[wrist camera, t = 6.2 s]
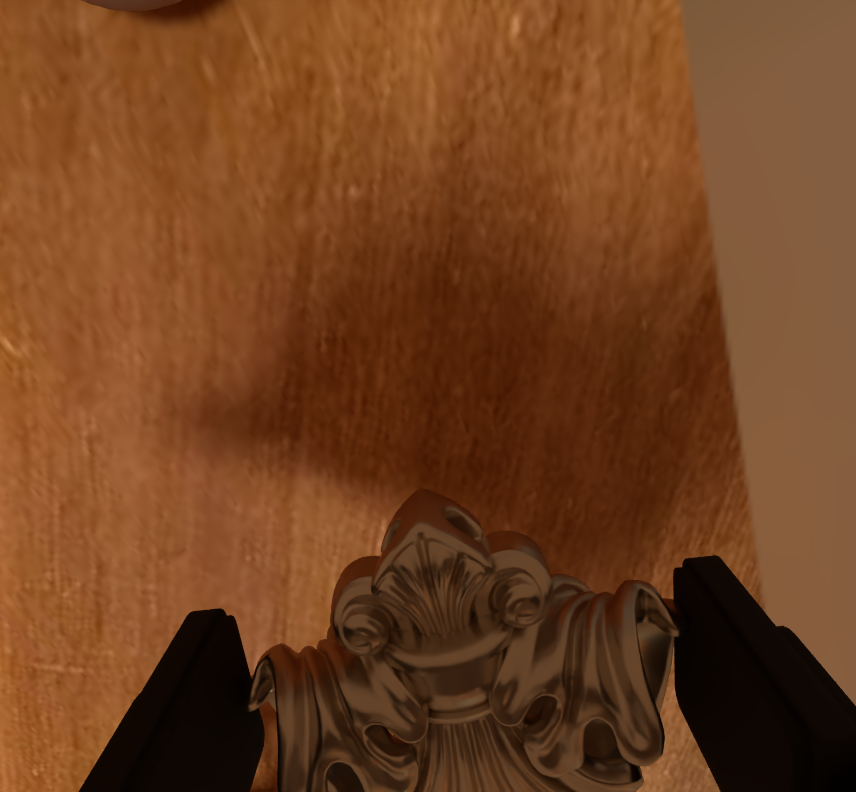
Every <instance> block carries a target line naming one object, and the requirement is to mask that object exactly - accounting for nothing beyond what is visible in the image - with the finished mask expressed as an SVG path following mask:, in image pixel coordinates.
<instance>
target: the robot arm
mask: <svg viewBox="0 0 856 792" xmlns="http://www.w3.org/2000/svg"><path fill="white" fill-rule="evenodd" d="M673 590H674V600H675V601H676V602H677V603H678V604H679V605H680V607H681V608H682V609H683V610H684V612H685V615H686V617H687V619H688V622H689V627H688V631H687V633H686V634H685V635H684V636H682V637H674V664H675V692H676V697H677V701H678V704H679V707H680V709H681V711H682V713H683V715H684V717H685V719H686V721H687V723H688V726H689V728H690V730H691V732H692V734H693V736H694V738H695V740H696V742H697V744H698V746H699V748H700V750H701V752H702V754H703V756H704V758H705V760H706V762H707V764H708V766H709V768H710V771H711V773H712V775H713V777H714V779H715V781H716V783H717V785H718V787H719V789H720V791H721V792H856V706H855V705H854V704H853V702H852V701H851V700H850V699H849V698H848V696H847V695H846V694H845V693H844V692H843V690H842V689H841V688H840V687H839V686H838V684H837V683H836V682H835V681H834V680H833V679H832V677H831V676H830V675H829V674H828V673H827V671H826V670H825V669H824V668H823V667H822V666H821V664H820V663H819V662H818V661H817V660H816V658H815V657H814V656H813V655H812V654H811V652H810V651H809V650H808V649H807V648H806V646H804V644H803V643H802V642H801V641H800V639H799V638H798V637H797V636H796V635H795V634H794V633H793V632H792V631H791V630H790V629H789V628H787V627H784V626H775V624H774V623H773V622H772V621H771V619H770V618H769V617H768V616H767V615H766V613H765V612H764V611H763V610H762V608H761V607H760V606H759V605H758V603H757V602H756V601H755V600H754V599H753V597H752V596H751V595H750V594H749V592H748V591H747V590H746V589H745V587H744V586H743V585H742V584H741V583H740V581H739V580H738V579H737V578H736V576H735V575H734V574H733V573H732V572H731V570H730V569H729V568H728V567H727V565H726V564H725V563H724V562H723V560H722V559H721V558H720V557H719V556H716V555H714V556H705V557H695V558H686V559H685V560H684V561H683V564H682V567H679V568H675V569H674V573H673ZM249 677H250V672H249V668H248V664H247V661H246V657H245V653H244V649H243V645H242V642H241V638H240V634H239V630H238V626H237V623H236V620H235V618H234V616H232V615H228V616H227V615H226V613H225V611H224V610H223V609H221V608H219V609H210V610H200V611H193V612H190V613H189V614H188V615H187V617H186V619H185V620H184V622H183V624H182V625H181V627H180V628H179V630H178V632H177V633H176V635H175V637H174V638H173V640H172V642H171V643H170V645H169V647H168V648H167V650H166V652H165V653H164V655H163V657H162V658H161V660H160V662H159V663H158V665H157V667H156V668H155V670H154V672H153V673H152V675H151V677H150V678H149V680H148V682H147V683H146V685H145V687H144V688H143V690H142V692H141V693H140V694H139V695H138V696H137V697H136V699H135V700H134V701H133V703H132V705H131V706H130V708H129V710H128V711H127V713H126V714H125V716H124V718H123V719H122V721H121V723H120V724H119V726H118V728H117V729H116V731H115V733H114V734H113V736H112V738H111V739H110V741H109V743H108V744H107V746H106V747H105V749H104V751H103V752H102V754H101V756H100V757H99V759H98V761H97V762H96V764H95V766H94V767H93V769H92V771H91V772H90V774H89V776H88V777H87V779H86V780H85V782H84V784H83V785H82V787H81V789H80V790H79V792H250V789H251V786H252V783H253V779H254V776H255V773H256V770H257V767H258V763H259V760H260V757H261V754H262V751H263V747H264V738H265V733H264V725H263V721H262V718H261V714H260V710H259V708H257V709H256V710H254V711H252V712H245V711H243V710H242V708H241V707H240V706H239V697H240V693H241V690H242V688H243V686H244V684H245V683H246V681H247V680H248V679H249Z"/></svg>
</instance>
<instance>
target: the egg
mask: <svg viewBox="0 0 856 792" xmlns="http://www.w3.org/2000/svg"><path fill="white" fill-rule="evenodd" d="M82 1H85V2H87V3H90V4H93V5H96V6H100V7H104V8H107V9H114V10H126V11H139V12H145V11H149V10H153V9H157V8H162V7H166V6H169V5H173V4H176V3H178V2H180V1H182V0H82Z"/></svg>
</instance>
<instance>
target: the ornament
mask: <svg viewBox="0 0 856 792" xmlns="http://www.w3.org/2000/svg"><path fill="white" fill-rule="evenodd" d="M482 537H483V529H482V527H481V525H480V523H479V521H478V520H477V519H476V518H475V517H474V516H473V515H472V514H471V513H470V512H469V511H468V510H467V509H465V508H464V507H463V506H461V505H460V504H458V503H457V502H455V501H454V500H452V499H450V498H448V497H446V496H444V495H441V494H439V493H436V492H434V491H431V490H427V489H424V488H419V489H418V490H416V491H415V492H414V493H413V494H412V495H410V497H409V498H408V499H407V500H406V501H405V502H404V503H403V504H402V505H401V507H400V508H399V509H398V510H397V512H396V513H395V515H394V517H393V518H392V520H391V522H390V524H389V526H388V528H387V531H386V533H385V536H384V539H383V542H382V546H381V552H382V554H381V556H366V557H362V558H359V559H357V560H355V561H353V562H352V563H350V564H349V565H348V566H347V567H346V568H345V569H344V570H343V572H342V573H341V575H340V578H339V579H338V581H337V584H336V586H335V589H334V593H333V598H332V606H331V615H330V624H331V625H330V627H329V629H328V632H327V639H323V640H320V641H319V642H318V645H317V650H316V649H315V648H314V647H312V646H306V647H304V648H303V649H302V651H301V652H300V653H297V652H295V651H294V650H292V648H290V647H289V646H287V645H285V644H283V643H281V644H278V645H276V646H273V647H271V648H270V649H269V650H267V651H266V652H265V653H264V654H263V655H262V656H261V658H260V660H259V661H258V664H257V666H256V669H255V673H254V675H252V676H250V677H249V679H248V680H247V681H246V683H245V684H244V686H243V688H242V690H241V693H240V697H239V706H240V707H241V708H242V710H243V711H245V712H252V711H254V710H256V709H257V708H259V707H260V706H261V705H262V704H263V703H264V701H265V700H267V701H268V702H269V703H270V705H271V706H272V708H273V709H274V710H275V712H276V716H277V736H278V771H277V784H278V792H328V791H329V792H636V791H637V790H638V789H639V788H640V787H641V786H642V785H643V782H644V779H643V776H642V771H641V768H640V766H649V765H652V764H653V763H654V762H656V761H657V760H658V759H659V758H660V757H661V755H662V753H663V749H664V741H665V735H664V728H663V724H662V721H661V717H660V711H661V707H662V703H663V700H664V696H665V692H666V687H667V682H668V678H669V673H670V670H671V664H672V656H673V647H674V637H682V636H684V635H685V634H686V633H687V631H688V627H689V622H688V619H687V617H686V615H685V612H684V610H683V609H682V608H681V607H680V605H679V604H678V603H677V602H676V601H675V600H673V599H665V598H662V597H661V595H660V594H659V593H658V591H657V590H656V589H655V588H654V587H653V586H652V585H651V584H649V583H647V582H645V581H641V580H626V581H624V582H623V583H622V584H621V585H620V586H619V587H618V589H617V590H616V592H615V594H614V595H613V594H612V593H609V592H602V593H598V594H596V593H594V592H592V591H591V590H590V589H589V587H588V586H587V585H586V584H584V583H583V582H582V581H580V580H578V579H577V578H575V577H572V576H569V575H565V574H550V571H549V567H548V564H547V561H546V558H545V556H544V554H543V552H542V549H541V547H540V546H539V545H538V544H537V542H536V541H534V540H533V539H532V538H530V537H528V536H526V535H524V534H522V533H519V532H516V531H497V532H494V533H491V534H488V535H486V536H485V537H483V538H482ZM388 730H389V731H391V732H392V733H393V736H392V735H391V734H390V733H389V731H388Z"/></svg>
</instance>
